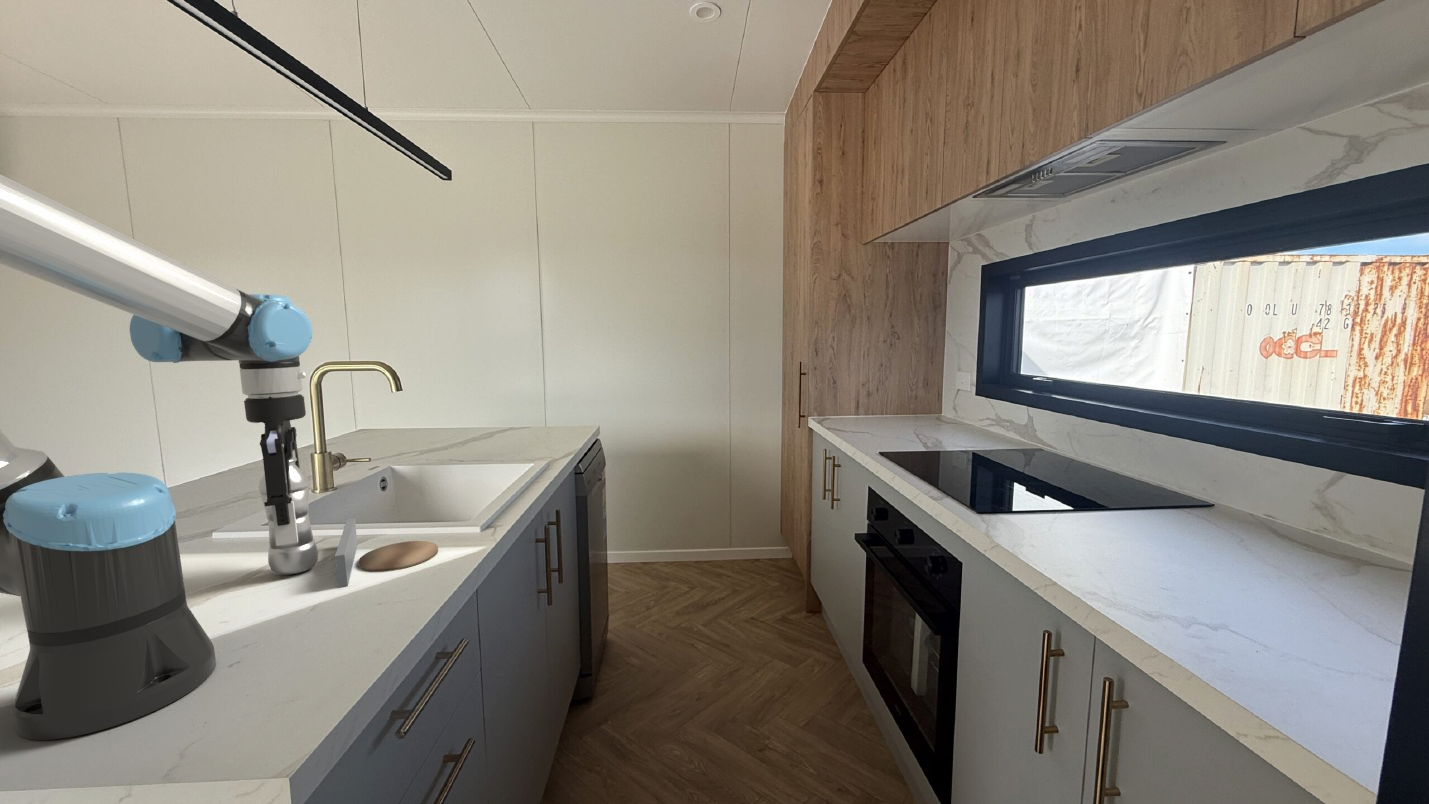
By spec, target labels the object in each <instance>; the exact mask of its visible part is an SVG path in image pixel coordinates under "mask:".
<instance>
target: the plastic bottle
mask: <svg viewBox="0 0 1429 804" xmlns="http://www.w3.org/2000/svg"><path fill="white" fill-rule="evenodd" d="M292 452H293V458H292V459H290V460H289V468H290V485H291V498H292V501H294V509H295V517H296V525H297V534H298V543H292V544H285V545H279V546H276V539H275V531H274V523H273V515H272V507H271V506H265V504H264V502H267V491H266V482H265V473H264V474H263V475H262V477H261V478H260V480H259V483H258V491H259V494H260V497H261V501H262V504H263V507H264V511H265V514H266V519H267V524H268V540H269V541H268V543H269V545H268V546H269V547H268V553H267V554H268V555H267V563H268V565H269V566H268V567H269V568H270V570H271V572H273V573H274V574H276V575H279V576H285V575H286V576H288V575H293V574H294V575H296V574H298V573H302V572H306V571H309V570H310V569H313V567H315V566H316V564H317V563H318V560H319V559H318V558H319V550H318V549H319V548H318V547H317V543H316V540H315V539H314V534H313V531H312V526H311V522H310V515H309V512H310V510H309V509H310V507H309V498H310V497H309V495H310V493H309V492H310V487H309V486H310V480H309V478H308V476H307V475H306V473H305V472H304V471H303V470H302V469H301V468H298V467H297V466H296V465H295V462H296V461H297V458H296V456H295V450H294V449H292ZM286 453H287V452H286ZM286 453H285V454H286ZM276 496H277V495H276ZM292 501H291V502H292Z"/></svg>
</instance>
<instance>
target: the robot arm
mask: <svg viewBox="0 0 1429 804" xmlns="http://www.w3.org/2000/svg"><path fill="white" fill-rule="evenodd" d="M0 265H3V266H5V267H7V268H11V269H13V270H15V271H18V272H22V273H23V274H25V275H26V274H27V275H29V276H31V277H34V278H36V279H40V280H43V281H44V282H46V283H50V284H51V285H52V284H53V285H55V286H58V287H59V288H60V287H61V288H63V289H65V290H68V291H71V292H73V293H76V294H79V295H81V296H84V297H86V298H89V299H91V300H95V301H98V302H100V303H102V304H105V305H106V306H107V305H108V306H110V307H112V308H115V309H118V310H121V311H123V312H125V313H129V314H131V315H132V317H131V319H130V322H129V335H130V341H131V343H132V346H133V347H134V350H135V351H136V352H137V354H138V355H139V356H140V357H142V358H143V359H144V360H147V361H149V362H152V363H174V364H178V363H180V362H181V363H182V362H214V361H215V362H216V361H217V362H220V361H223V362H224V361H229V362H230V361H238V363H239V374H240V384H241V392H242V394H243V395H245V396H247V398H245V400H244V401H243V403H244V404H243V405H244V412H245V418H246V419H245V420H246V421H247V422H248V423H251V424H252V423H253V424H259V423H263V424H264V433H261V434H260V442H259V446H260V448H261V449H260V450H261V455H262V461H263V471H264V472H263V473H264V474H265V482H266V491H267V502H264V504H265V506H271V507H272V515H273V523H274V531H275V539H276V546H279V545H285V544H292V543H298V534H297V525H296V517H295V509H294V501H292V498H291V485H290V468H289V460H290V459H292V458H293V452H292V449H294V450H295V456H296V458H297V461H296V462H295V465H296V466H297V467H298V468H300V466H301V465H300V459H299V453H298V452H299V451H298V444H297V429H296V427H295V426H292V425H291V421H296V420H299V419H303V418H304V417H305V416H306V414H307V413H306V405H305V396H304V395H303V394H301V393H299V392H302V391H303V381H302V379H305V378H306V377H307V375H306V374H307V373H305V372H304V371H302V372H300V371H301V364H300V363H301V362H300V356H301V355H302V354H304V353H305V351H307V349H308V348H309V346H310V344H311V343H312V338H313V327H312V324H311V321H310V318H309V317H308V316H307V314H306V313H305V312H304V311H303V310H302V309H301V308H299V307H298V306H296V305H294V304H293V302H292V300H291V299H290V298H288V297H287V296H285V295H281V294H280V295H278V294H253V293H252V294H249V293H246V292H244V291H242V290H239V289H238V288H235V287H233V286H231V285H229V284H226V283H224V282H222V281H220V280H218V279H216V278H214V277H212V276H210V275H208V274H206V273H204V272H202V271H201V270H199V269H196V268H193V267H192V266H189V265H187V264H185V263H183V262H182V261H180V260H177V259H176V258H173V257H171V256H169V255H168V254H165V253H163V252H161V251H159V250H157V249H155V248H153V247H150V246H149V245H147V244H144V243H143V242H141V241H138V240H136V239H134V238H132V237H131V236H129V235H127V234H125V233H122V232H120V231H118V230H115V229H114V228H111V227H110V226H108V225H105V224H104V223H101V222H99V221H97V220H95V219H93V218H91V217H89V216H87V215H85V214H83V213H80V212H79V211H76V210H75V209H72V208H70V207H69V206H66V205H64V204H62V203H61V202H58V201H56V200H54V199H52V198H50V197H48V196H46V195H44V194H41V193H39V192H37V191H35V190H33V189H32V188H29V187H27V186H25V185H23V184H21V183H19V182H18V181H15V180H13V179H11V178H9V177H7V176H5V175H3V174H1V173H0ZM286 452H287V453H286ZM285 453H286V454H285ZM300 469H301V468H300ZM276 495H277V496H276ZM291 501H292V502H291ZM264 504H263V505H264ZM176 518H177V511H176V508H175V504H174V502H173V500H172V497H171V493H170V490H169V488H168V486H167V484H166V483H165V482H164V481H162V480H160V479H159V478H157V477H155V476H151V475H147V474H141V473H135V472H115V473H108V472H96V473H95V472H94V473H93V472H92V473H84V474H72V475H67V476H65V475H64V474H63V473H62V472H61V470H60V469H59V468H58V467H57V466H56V464H55V463H54V462H53V461H52V460H51V458H50V457H49V456H48V455H47V454H46V453H45V452H44V451H42V450H36V449H31V448H22V447H18V446H16V445H14V444H13V443H12V442H11V440H10V439H9V438H8V437H7V436H6V434H5V433H4V432H3V431H2V430H1V429H0V594H4V595H11V596H16V597H20V600H21V604H22V611H23V617H24V621H25V622H24V623H25V627H26V632H27V636H28V643H29V651H28V656H27V658H26V662H25V665H24V668H23V673H22V676H21V679H20V682H19V685H18V689H17V693H16V695H15V699H14V703H13V708H12V713H13V718H14V719H13V720H14V723H15V725H14V726H15V729H16V733H17V734H18V735H19V736H20V737H23V738H25V739H29V740H37V741H45V740H46V741H48V740H51V741H52V740H59V739H67V738H73V737H77V736H78V737H79V736H83V735H87V734H91V733H95V732H99V731H103V730H106V729H110V728H113V727H116V726H119V725H121V724H124V723H127V722H130V721H133V720H135V719H138V718H141V717H143V716H145V715H148V714H151V713H153V712H155V711H157V710H160V709H162V708H164V707H165V706H167V705H170V704H171V703H173V702H175V701H177V700H179V699H181V698H182V697H184V696H186V695H188V694H189V693H190V692H192V691H193V690H195V689H196V688H198V687H200V685H202V684H203V683H204V682H205V681H206V680H207V679H209V677H210V676H211V675H212V674H213V672H214V671H215V669H216V666H217V660H216V653H215V647H214V644H213V642H212V640H211V638H210V637H209V635H208V633H206V631H205V630H204V629H203V627H202V625H201V624H200V622H199V621H198V620H197V618H196V617H195V615H194V614H193V612H192V611H191V609H190V607H189V606H188V604H187V603H188V602H187V596H186V590H185V582H184V581H185V580H184V575H183V567H182V560H181V554H180V546H179V545H180V544H179V539H178V533H177V532H178V531H177V525H176Z"/></svg>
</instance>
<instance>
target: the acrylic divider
mask: <svg viewBox="0 0 1429 804" xmlns="http://www.w3.org/2000/svg"><path fill="white" fill-rule="evenodd" d="M339 540H340V541H339V543H338V545H337V549H336V552H335V554H334V558H335V559H334V561H335V568H336V569H335V571H336V579H337V587H338V588H344V587H349V583H350V578H351V573H352V570H353V566H354V561H355V557H356V552H357V549H358V535H357V526H356V519H355V517H354V518H353V517H352V518H347V519H346V521H345V525H344V528H343V530H342V534H341V536H340V539H339Z"/></svg>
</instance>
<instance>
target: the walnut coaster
mask: <svg viewBox="0 0 1429 804" xmlns="http://www.w3.org/2000/svg"><path fill="white" fill-rule="evenodd" d="M438 553H439V547H438V545H437V543H435V542H433V541H429V540H428V541H426V540H411V541H409V540H408V541H402V542H396V543H392V544H387V545H383V546H380V547H377V548H374V549H372V550H370V551H368V552H366V553H364V554H363V555H362V556H360V558H359V559H358V567H359V568H360V569H361V570H364V571H366V572H367V571H368V572H390V571H398V570H402V569H408V568H411V567H414V566H417V565H420V564H423V563H425V562H427V561H429V560H431V559H433V558H434V557H435V556H436V555H437V554H438Z"/></svg>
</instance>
